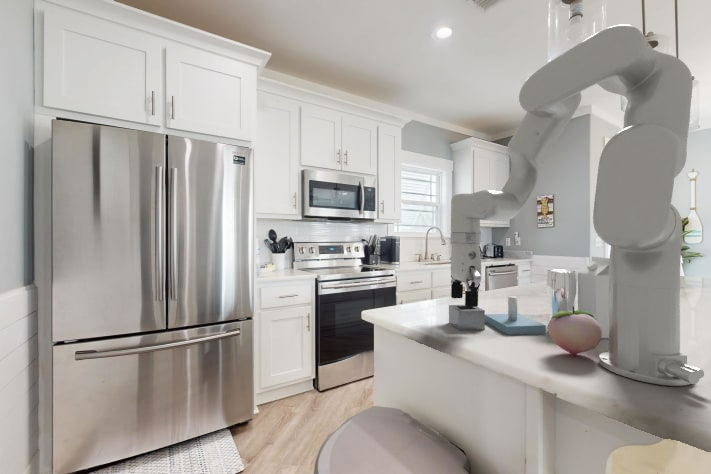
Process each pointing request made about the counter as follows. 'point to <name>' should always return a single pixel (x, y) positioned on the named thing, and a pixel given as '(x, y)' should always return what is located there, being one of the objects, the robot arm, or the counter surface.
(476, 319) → the gray square block
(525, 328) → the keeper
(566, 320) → the decorative fruit
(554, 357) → the counter surface
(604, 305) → the milk carton
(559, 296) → the beer glass
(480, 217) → the robot arm
